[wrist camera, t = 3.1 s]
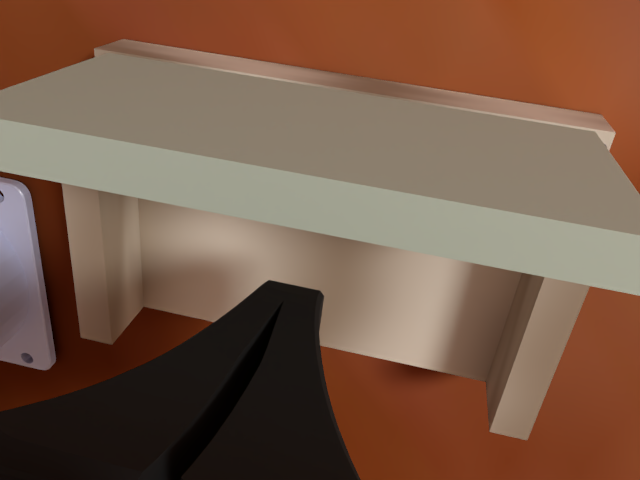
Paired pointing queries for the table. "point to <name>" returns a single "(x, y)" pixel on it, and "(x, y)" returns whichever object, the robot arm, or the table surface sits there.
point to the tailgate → (333, 165)
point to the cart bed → (330, 265)
